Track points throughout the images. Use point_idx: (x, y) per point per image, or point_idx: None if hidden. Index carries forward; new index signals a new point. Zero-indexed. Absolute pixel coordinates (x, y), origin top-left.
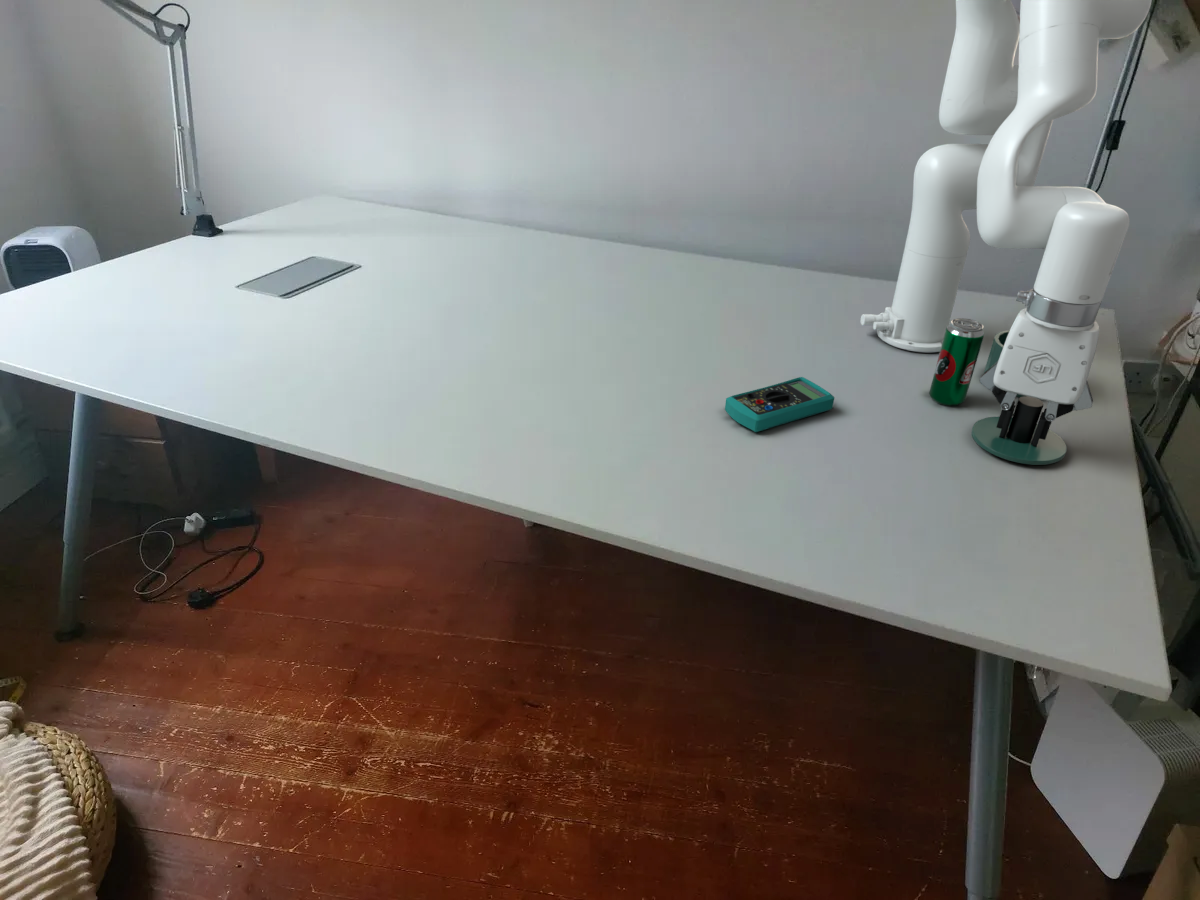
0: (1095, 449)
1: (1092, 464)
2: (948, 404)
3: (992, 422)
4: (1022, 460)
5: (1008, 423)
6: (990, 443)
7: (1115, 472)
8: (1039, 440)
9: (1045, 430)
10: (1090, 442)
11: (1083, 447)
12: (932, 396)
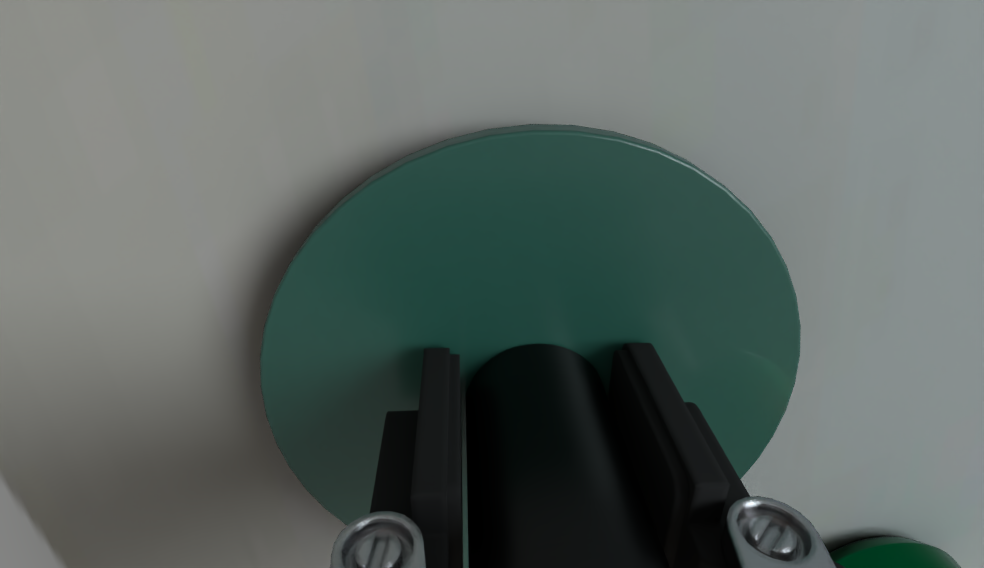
0: (179, 522)
1: (134, 389)
2: (871, 542)
3: None
4: (476, 136)
5: (654, 417)
6: (697, 241)
7: (6, 374)
8: None
9: (398, 456)
10: (220, 563)
11: (231, 512)
12: (956, 562)
